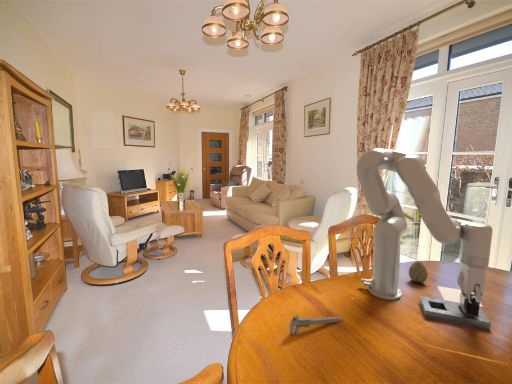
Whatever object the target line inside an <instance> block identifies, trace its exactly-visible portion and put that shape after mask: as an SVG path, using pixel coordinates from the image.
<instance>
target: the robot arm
mask: <svg viewBox="0 0 512 384" xmlns="http://www.w3.org/2000/svg"><path fill="white" fill-rule="evenodd" d="M380 170H387V171H390V172H394V173H396V174H397V175H398V177H399V178H400V180H401V182H402V183H403V185H404V187H405V188H406V190H407V192H408V193H409V195H410V196H411V197H412V199H413V201H414V204H415V207H416V209H417V211H418V214H419V216H420V218H421V219H422V222H423V224H424V225H425V226H426V228H427V230H428V231H429V233H430V235H431V236H432V237H433V239H435V240H436V242H437V243H440V244H443V245H453V244H456V242H457V241H458V240H460V242H461V243H460V252H459V267H458V272H457V273H458V274H457V277H456V282H457V284H458V286H459V288H460V290H461V292H462V293H465V294H468V302H467V307H466V313H467V314H471V315H478V314H479V306H480V303H481V302H482V301H483V298H482V297H483V296H484V294H485V288H486V287H485V286H486V268H489V264H490V255H491V246H492V238H493V227H492V226H491V225H490V224H488V223H484V222H479V221H466V220H463V219H458V218H454V217H450V216H449V214H448V213H447V212H446V209H445V207H444V205H443V202H442V199H441V193H440V190H439V188H438V186H437V184H436V183H435V181H434V180H433V178H432V177H431V175H430V174H429V172H428V171H427V170H426V163H425V161H424V159H423V158H422V157H421V156H419V155H416V154H411V153H406V152H402V151H397V150H393V149H389V148H378V147H377V148H371V149H369V150H367V151H365V152H364V153H363V154H362V155H361V156H360V157H359V159H358V160H357V163H356V175H357V178H358V181H359V184H360V186H361V190H362V193H363V196H364V199H365V202H366V205H367V208H368V211H369V212H370V213H371V214H372V215H374V216H377V217H378V216H379V218H380V220H379V221H377V222H376V224H375V225H374V228H373V232H372V235H373V263H372V264H373V265H372V266H373V267H372V268H373V271H372V277H371V278H369V279H367V278H362V277H361V279H360V283H361V284H363V286H365V287H367V290H368V292H369V293H370V294H371V295H372V296H374V297H376V298H379V299H382V300H388V301H394V300H395V301H396V300H399V299H401V297H402V296H403V293H402V290H401V289H400V288H399V276H400V264H401V263H400V261H401V260H400V259H401V237H402V236H403V235H404V234H405V233H406V232H407V230H408V223H407V222H408V221H407V219H406V217H405V214H404V211H403V208H402V205H401V203H400V200H399V198H398V197H397V195H396V194H395V193H394V192H392V191H390V190H387V189H386V186H385V182H384V180H383V178H382V176H381V175H380V174H381V173H380ZM471 293H473V294H471ZM460 296H461V294H460ZM471 296H475V298H473V299H472V297H471Z"/></svg>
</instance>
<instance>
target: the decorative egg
mask: <svg viewBox="0 0 512 384" xmlns="http://www.w3.org/2000/svg"><path fill="white" fill-rule="evenodd" d="M408 275H409V278H410V279H411V281H413V282H414V283H415V284H416V283H417V284H423V283H425V282H426V280H427V279H428V275H429V273H428V270H427V267H426V266H425V265H424V263H423V262H421V260H417V261H415V262H413V263H412V264H411V265H410V267H409V269H408Z"/></svg>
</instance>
